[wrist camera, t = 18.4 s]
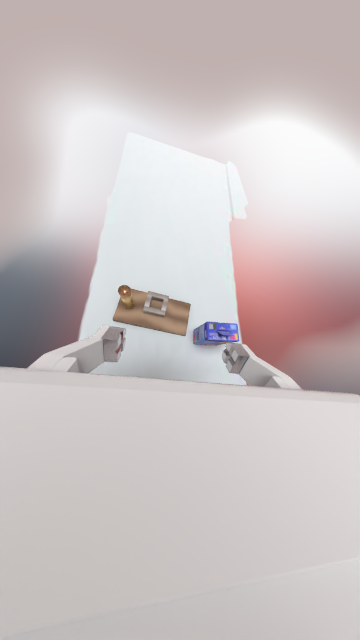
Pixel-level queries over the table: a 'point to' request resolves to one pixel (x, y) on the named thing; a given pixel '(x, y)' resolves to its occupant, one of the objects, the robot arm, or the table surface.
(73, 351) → the robot arm
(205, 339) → the ink cartridge box
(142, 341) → the table surface
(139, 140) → the table surface
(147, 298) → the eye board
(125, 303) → the brass copper-topped peg
